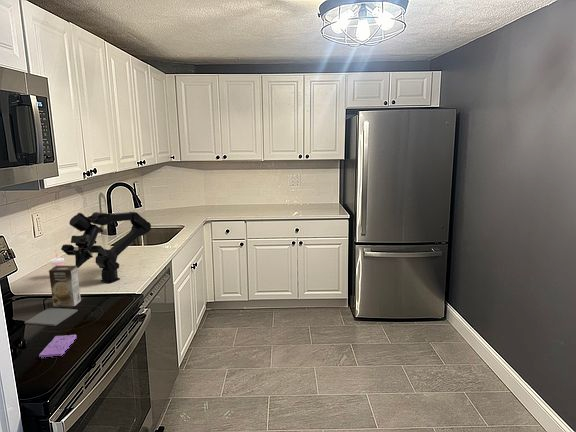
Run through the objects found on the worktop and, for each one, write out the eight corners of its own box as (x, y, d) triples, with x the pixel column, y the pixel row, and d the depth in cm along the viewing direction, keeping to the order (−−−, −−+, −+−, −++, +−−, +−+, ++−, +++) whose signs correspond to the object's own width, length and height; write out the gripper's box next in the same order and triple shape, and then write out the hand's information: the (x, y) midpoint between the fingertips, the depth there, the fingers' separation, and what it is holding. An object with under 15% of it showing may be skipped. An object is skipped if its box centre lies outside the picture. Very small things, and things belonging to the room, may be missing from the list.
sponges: (77, 339, 147) (76, 334, 146) (62, 358, 134) (61, 353, 134) (56, 340, 146) (55, 335, 146) (39, 359, 134) (38, 354, 133)
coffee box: (52, 307, 172) (47, 270, 169) (60, 300, 178) (55, 265, 175) (74, 306, 172) (70, 270, 169) (81, 300, 179) (77, 264, 175)
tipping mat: (48, 309, 170) (48, 307, 170) (77, 310, 168) (77, 309, 168) (24, 323, 158) (24, 322, 158) (55, 325, 156) (55, 324, 156)
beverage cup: (56, 274, 211) (52, 248, 208) (68, 274, 211) (65, 247, 208) (50, 278, 205) (46, 251, 202) (63, 278, 205) (59, 251, 203)
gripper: (61, 227, 184) (46, 258, 176) (99, 228, 181) (86, 260, 173) (74, 239, 193) (61, 269, 185) (111, 240, 190) (99, 271, 182)
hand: (76, 267), depth 181 cm, fingers closed
